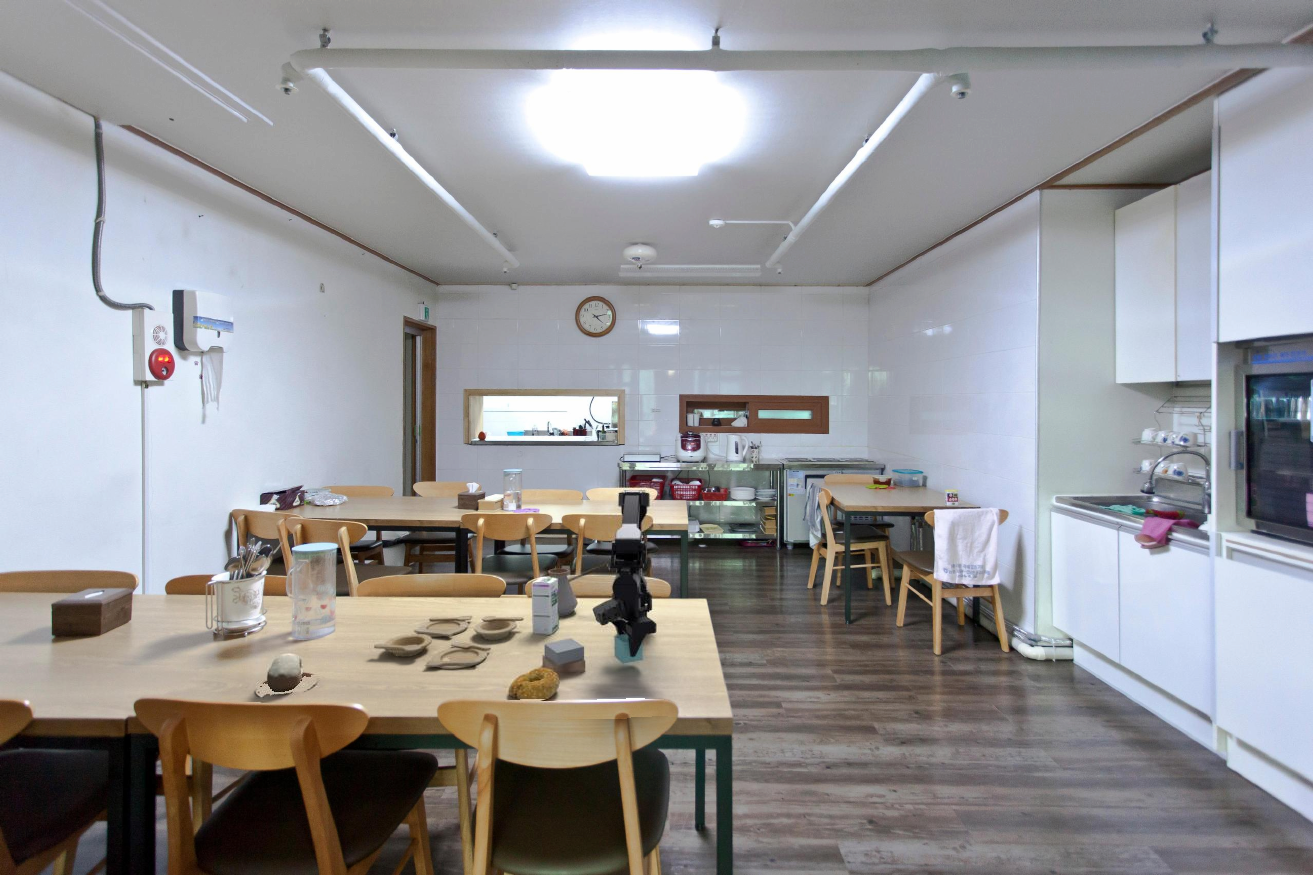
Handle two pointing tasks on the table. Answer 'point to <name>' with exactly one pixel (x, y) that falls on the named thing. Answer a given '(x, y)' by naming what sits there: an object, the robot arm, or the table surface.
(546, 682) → the bagel
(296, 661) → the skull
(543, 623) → the syrup box
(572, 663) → the walnut slab
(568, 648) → the grey square block
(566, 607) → the coffee pot
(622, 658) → the teal cube
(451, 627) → the tableware set
